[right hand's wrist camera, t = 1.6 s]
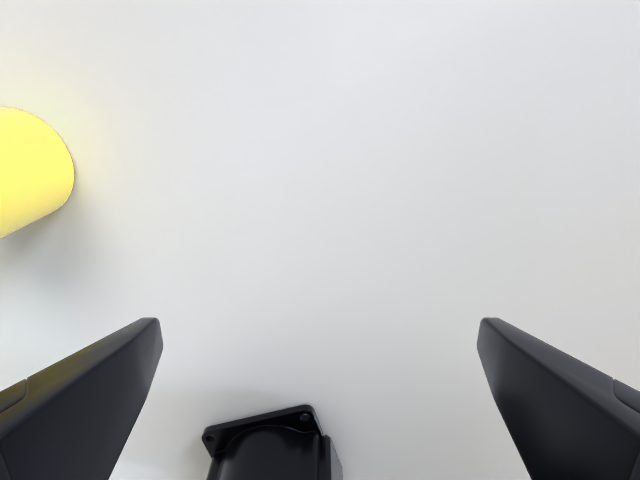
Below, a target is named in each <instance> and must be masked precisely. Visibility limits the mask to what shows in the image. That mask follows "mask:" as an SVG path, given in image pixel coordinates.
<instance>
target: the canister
mask: <svg viewBox="0 0 640 480" xmlns="http://www.w3.org/2000/svg"><path fill="white" fill-rule="evenodd" d="M73 184H74V167H73V163H72V159H71V156H70V154H69V151H68V149H67V148H66V146H65V144H64V143H63V141H62V139H61V138H60V137H59V136H58V135H57V133H56V132H55V131H54V130H53V129H52V128H51V127H50V126H48V125H47V124H46V123H45V122H43V121H42V120H40V119H39V118H37V117H36V116H34V115H32V114H30V113H27V112H25V111H22V110H19V109H15V108H8V107H0V239H1V238H3V237H5V236H7V235H9V234H11V233H13V232H15V231H17V230H19V229H21V228H23V227H25V226H26V225H28V224H30V223H32V222H34V221H36V220H38V219H40V218H42V217H44V216H46V215H48V214H50V213H52V212H54V211H56V210H57V209H59V208H60V207H61V206H62V205H63V204H64V203H65V202H66V201H67V199H68V198H69V196H70V194H71V191H72V188H73Z"/></svg>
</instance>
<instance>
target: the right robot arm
mask: <svg viewBox="0 0 640 480" xmlns="http://www.w3.org/2000/svg"><path fill="white" fill-rule="evenodd" d="M162 350H163V340H162V334H161V328H160V323H159V320H158V319H157V318H141V319H139V320H137V321H135V322H133V323H131V324H129V325H128V326H126V327H124V328H122V329H120V330H118V331H116V332H114V333H112V334H110V335H108V336H106V337H105V338H103V339H101V340H99V341H97V342H95V343H93V344H91V345H89V346H87V347H85V348H83V349H82V350H80V351H78V352H76V353H74V354H72V355H70V356H68V357H66V358H64V359H62V360H61V361H59V362H57V363H55V364H53V365H51V366H49V367H47V368H45V369H43V370H41V371H39V372H38V373H36V374H34V375H32V376H30V377H28V378H27V380H26V379H24V380H22V381H20V382H18V383H16V384H14V385H13V386H11V387H9V388H7V389H5V390H3V391H1V392H0V480H108V479H109V477H110V475H111V473H112V471H113V469H114V467H115V464H116V462H117V460H118V458H119V456H120V454H121V452H122V449H123V447H124V445H125V443H126V441H127V439H128V437H129V435H130V432H131V430H132V428H133V426H134V424H135V422H136V420H137V418H138V415H139V413H140V411H141V409H142V407H143V405H144V402H145V400H146V398H147V395H148V392H149V389H150V386H151V383H152V380H153V377H154V374H155V371H156V368H157V365H158V362H159V359H160V356H161V353H162ZM477 350H478V353H479V356H480V359H481V362H482V365H483V368H484V371H485V374H486V377H487V380H488V383H489V386H490V389H491V392H492V395H493V398H494V400H495V402H496V405H497V407H498V409H499V411H500V413H501V415H502V418H503V420H504V422H505V424H506V426H507V428H508V430H509V432H510V435H511V437H512V439H513V441H514V443H515V445H516V447H517V450H518V452H519V454H520V456H521V458H522V460H523V462H524V464H525V467H526V469H527V471H528V473H529V475H530V477H531V479H532V480H640V392H639V391H637V390H635V389H633V388H631V387H629V386H627V385H626V384H624V383H622V382H620V381H618V380H616V379H614V380H613V378H612V377H610V376H608V375H606V374H604V373H602V372H601V371H599V370H597V369H595V368H593V367H591V366H589V365H587V364H585V363H583V362H581V361H579V360H578V359H576V358H574V357H572V356H570V355H568V354H566V353H564V352H562V351H560V350H558V349H556V348H555V347H553V346H551V345H549V344H547V343H545V342H543V341H541V340H539V339H537V338H535V337H534V336H532V335H530V334H528V333H526V332H524V331H522V330H520V329H518V328H516V327H514V326H512V325H511V324H509V323H507V322H505V321H503V320H501V319H499V318H483V319H482V320H481V323H480V328H479V334H478V340H477ZM303 414H308V415H303ZM210 435H212V436H210ZM202 441H203V443H204V445H205V447H206V448H207V450H208V452H209V454H210V456H211V458H212V462H211V465H210V469H209V472H208V476H207V479H206V480H343V479H342V467H341V464H340V461H339V459H338V456H337V453H336V451H335V448H334V446H333V443H332V440H331V438H330V437H329V436H327V435H324V434H323V432H322V429H321V426H320V424H319V421H318V419H317V416H316V413H315V411H314V409H313V407H311V406H310V405H300V406H296V407H291V408H287V409H283V410H278V411H274V412H270V413H265V414H261V415H257V416H253V417H248V418H244V419H240V420H235V421H231V422H227V423H222V424H218V425H214V426H210V427H207V428H206V429H205V430H204V432H203V435H202Z"/></svg>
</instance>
